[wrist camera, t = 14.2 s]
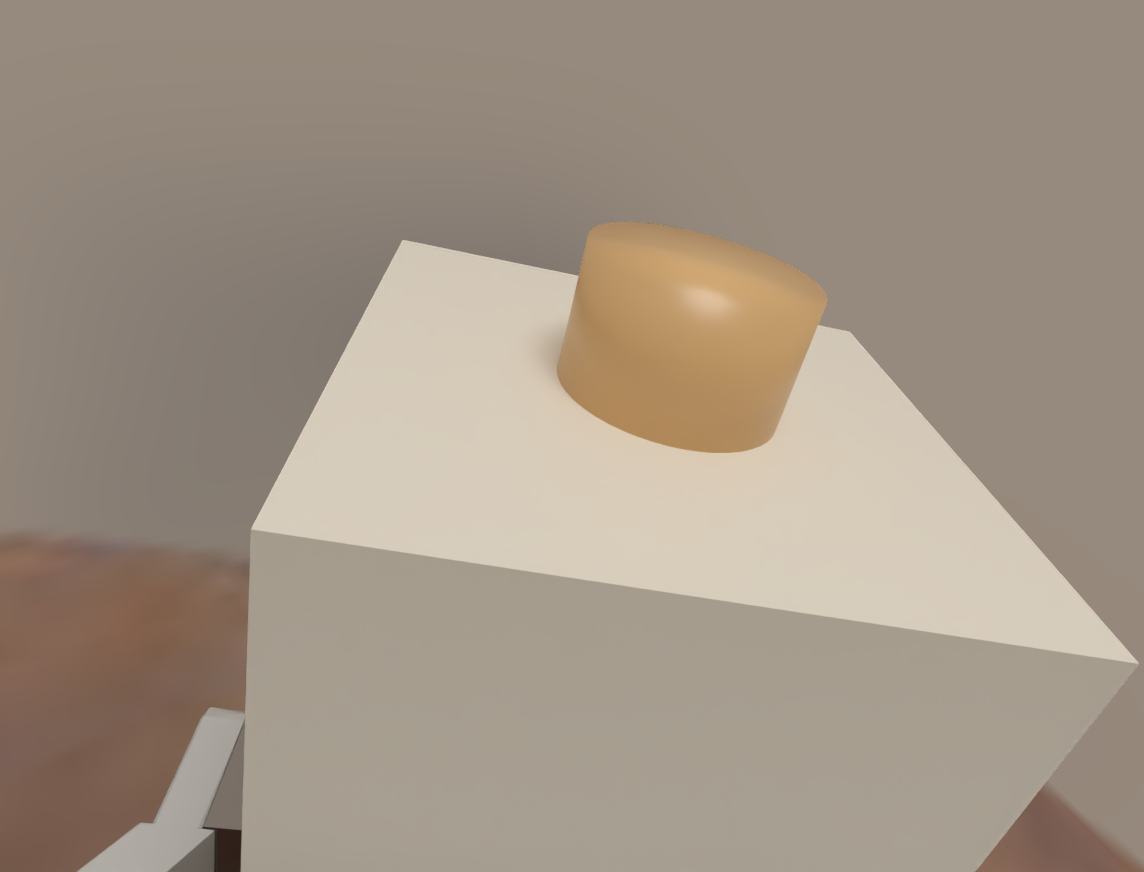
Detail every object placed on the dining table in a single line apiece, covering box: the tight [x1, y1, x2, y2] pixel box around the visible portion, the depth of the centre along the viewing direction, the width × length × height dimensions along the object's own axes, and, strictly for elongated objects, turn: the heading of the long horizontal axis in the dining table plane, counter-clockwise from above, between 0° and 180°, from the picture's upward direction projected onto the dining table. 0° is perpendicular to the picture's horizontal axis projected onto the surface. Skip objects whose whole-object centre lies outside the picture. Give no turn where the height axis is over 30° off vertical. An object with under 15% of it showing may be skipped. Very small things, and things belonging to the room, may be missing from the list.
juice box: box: [241, 222, 1139, 872], centre depth 10 cm, size 6×6×15 cm
